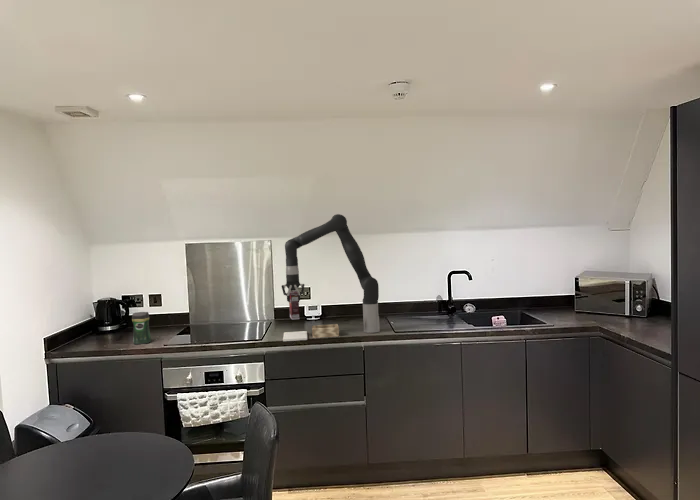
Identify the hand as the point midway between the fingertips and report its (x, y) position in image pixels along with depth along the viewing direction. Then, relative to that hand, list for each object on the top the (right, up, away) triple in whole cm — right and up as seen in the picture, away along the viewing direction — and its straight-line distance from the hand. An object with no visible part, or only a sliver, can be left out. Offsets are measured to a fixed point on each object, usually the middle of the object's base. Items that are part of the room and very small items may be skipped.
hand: (293, 301), depth 314 cm
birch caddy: (+19, -20, +3) cm, 28 cm away
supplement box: (0, -10, +1) cm, 10 cm away
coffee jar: (-91, -25, +2) cm, 94 cm away
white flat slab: (+1, -21, +1) cm, 21 cm away
